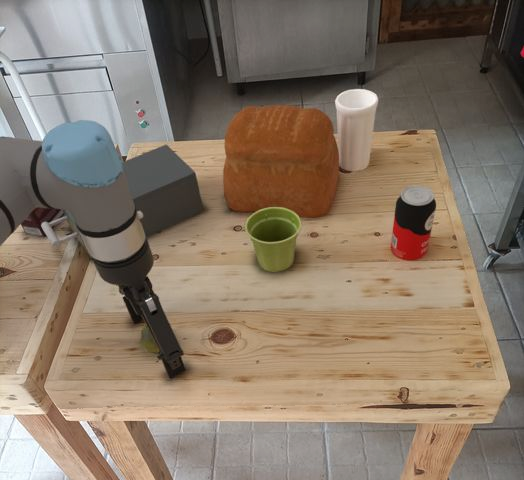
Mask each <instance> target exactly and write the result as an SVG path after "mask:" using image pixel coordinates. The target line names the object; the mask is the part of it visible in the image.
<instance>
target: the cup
mask: <svg viewBox="0 0 524 480" xmlns="http://www.w3.org/2000/svg"><path fill="white" fill-rule="evenodd" d="M377 95H378V94H376V93H375V92H373V91H371V90H368V89H366V88H365V89H364V88H353V89H347V90H345V91H342V92H341V93H340V94H338V95H337V96H336V98H335V100H334V102H335V103H334V104H335V109H336V131H337V134H336V135H337V147H338V152H339V168H341V169H342V170H345V171H349V172H358V171H359V172H360V171H362V170H364V169H367V167H369V164H370V158H371V151H372V143H373V136H374V135H373V134H374V126H375V119H376V113H377V107H378V104H379V98H378V96H377Z"/></svg>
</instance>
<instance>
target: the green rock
mask: <svg viewBox="0 0 524 480" xmlns="http://www.w3.org/2000/svg"><path fill="white" fill-rule="evenodd" d="M140 342H141V345H142V347H143V348H144V349H145V350H146V351H147V352H149V353H155V354H159V351H160V350H159V348H158V347H157V345H156V343H155V341H154V339H153V337H152V335H151V333H150V331H149V329H148V327H147V326H146V324H145V325H144V326H143V327H142V329H141V331H140Z"/></svg>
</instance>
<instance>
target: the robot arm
mask: <svg viewBox="0 0 524 480" xmlns="http://www.w3.org/2000/svg"><path fill="white" fill-rule="evenodd" d="M122 162H123V160H122V157H121V155H120V154H119V153H118V149H117V148H116V146H115V143H114V141H113V139H112V136H111V134H110V133H109V130H108V129H107V128H106V127H105V126H104V125H102V124H101V123H99V122H97V121H93V120H89V119H78V120H77V121H73V122H70V121H67V122H64V123H61V124H59V125H57V126H55V127H54V128H52V129H50V130H49V131H48V132H46V134H45V135H44V136H43V139H42V140H37V139H36V140H34V139H25V138H16V137H11V136H4V135H1V136H0V247H2V245H3V244H4V243H5V242H6V241H7V240H8V238H9V237H10V236H11V235H13V234H14V233H15V232H16V231H17V229H18V228H19V227H20V226H21V223H22V222H23V221H24V220H25V219H26V218H27V217H28V215H29V214H30V213H31V212H32V211H33V210H34V209H35V208H37V207H41V208H50V209H64V210H68V211H70V213H71V215H72V217H73V219H74V221H75V223H76V225H77V229H78V231H79V233H80V235H81V237H82V240H83V242H84V244H85V246H86V248H87V250H88V253H89V254H90V255H91V257H92V259H91V260H92V262H93V265H94V267H95V269H96V271H97V273H98V275H99V277H100V278H101V279H102V280H103V281H104V282H105V283H108V284H109V285H114V286H116V287H118V293H119V294H121V296H122V297H121V298H122V300H123V303H124V305H125V307H126V309H127V311H128V314H129V316H130V318H131V321H132V323H133V324H134V325H136V324H138V323H140V322H142V321H143V322H144V324H145V325H146V326H147V327H148V329H149V331H150V333H151V335H152V337H153V339H154V341H155V343H156V345H157V347H158V348H159V350H160V351H159V353H158V355H156V358H157V360H158V361H161V362H162V364H163V368H164V369H165V372H166V374H167V377H168V378H169V380H172V378H175V377H176V376H179V375H180V374H182V373H183V372H185V371H186V370H187V369H186V366H185V364H184V361H183V358H182V357H183V356H184V355H185V353H184V350H183V349H182V347H181V345H180V343H179V341H178V339H177V337H176V335H175V333H174V330H173V328H172V326H171V324H170V321H169V319H168V317H167V315H166V313H165V311H164V309H163V306H162V303H161V300H160V297H159V295H158V294H157V293H155V291H154V289H153V283H152V282H151V280H150V277H149V276H148V275H149V273H150V272H151V270H152V269H153V267H154V260H155V259H154V255H153V252H152V249H151V245H150V243H149V239H148V237H145V233H144V230H143V227H142V224H141V222H140V220H139V219H141V218H143V213H142V212H141V211H137V210H136V206H135V203H134V202H133V199H132V196H131V193H130V189H129V186H128V183H127V179H126V176H125V172H124V169H123V165H122Z"/></svg>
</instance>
